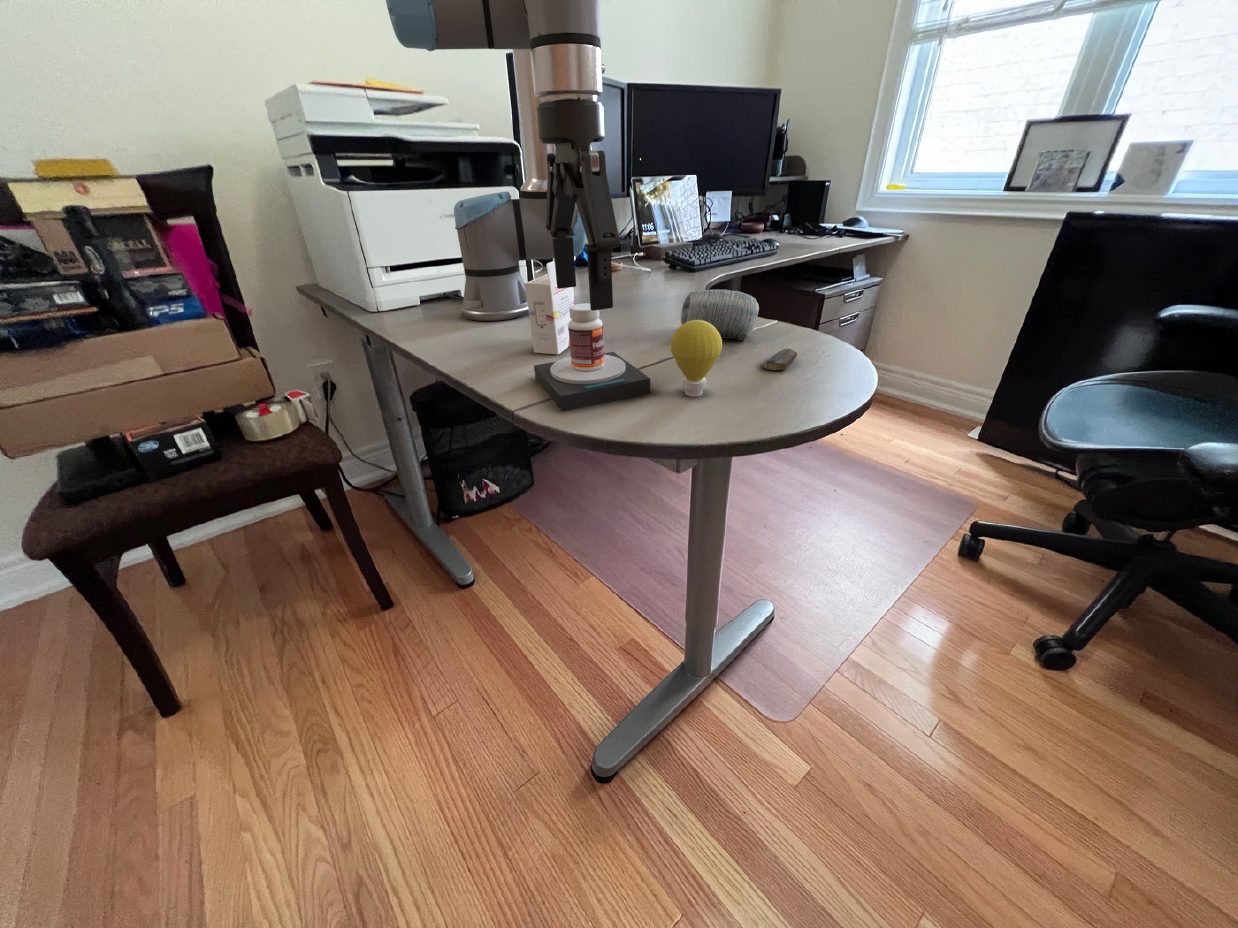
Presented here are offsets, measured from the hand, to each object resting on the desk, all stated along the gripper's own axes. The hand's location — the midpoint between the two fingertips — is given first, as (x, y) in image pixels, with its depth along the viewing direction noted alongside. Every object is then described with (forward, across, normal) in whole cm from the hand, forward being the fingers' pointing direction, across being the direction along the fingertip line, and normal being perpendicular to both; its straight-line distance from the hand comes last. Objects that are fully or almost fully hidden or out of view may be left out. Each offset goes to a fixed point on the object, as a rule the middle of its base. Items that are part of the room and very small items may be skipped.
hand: (582, 297), depth 66 cm
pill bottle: (+10, 0, 0) cm, 10 cm away
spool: (+13, +10, -29) cm, 33 cm away
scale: (+12, -1, 0) cm, 12 cm away
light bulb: (+12, -10, -12) cm, 20 cm away
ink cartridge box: (+13, +19, -1) cm, 23 cm away
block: (+12, -7, -29) cm, 32 cm away
